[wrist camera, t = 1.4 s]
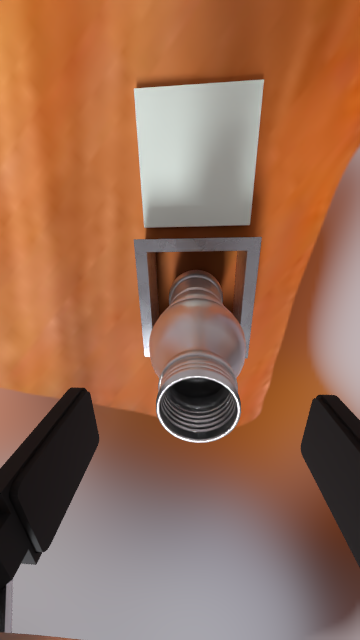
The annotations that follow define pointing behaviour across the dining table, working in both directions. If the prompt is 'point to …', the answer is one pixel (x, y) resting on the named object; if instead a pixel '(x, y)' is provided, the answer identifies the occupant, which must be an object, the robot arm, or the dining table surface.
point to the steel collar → (243, 245)
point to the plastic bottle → (197, 360)
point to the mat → (198, 152)
